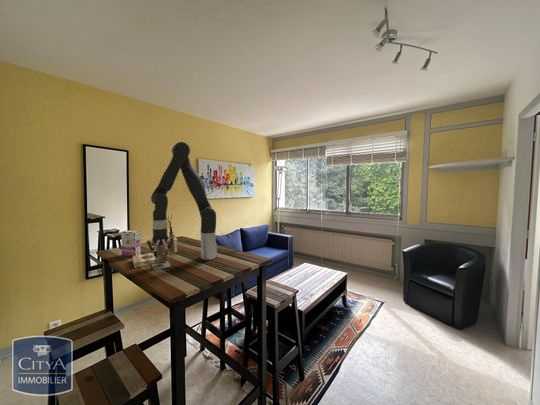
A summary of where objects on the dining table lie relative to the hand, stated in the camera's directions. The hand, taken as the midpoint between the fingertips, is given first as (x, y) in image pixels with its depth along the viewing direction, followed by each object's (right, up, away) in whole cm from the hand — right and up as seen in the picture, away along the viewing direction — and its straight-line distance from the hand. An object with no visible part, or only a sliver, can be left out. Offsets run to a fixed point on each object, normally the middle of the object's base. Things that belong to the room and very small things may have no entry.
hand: (160, 256), depth 130 cm
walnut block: (0, -4, 0) cm, 4 cm away
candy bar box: (-28, -4, +18) cm, 34 cm away
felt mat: (0, -6, +1) cm, 6 cm away
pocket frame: (-12, -5, +7) cm, 14 cm away
